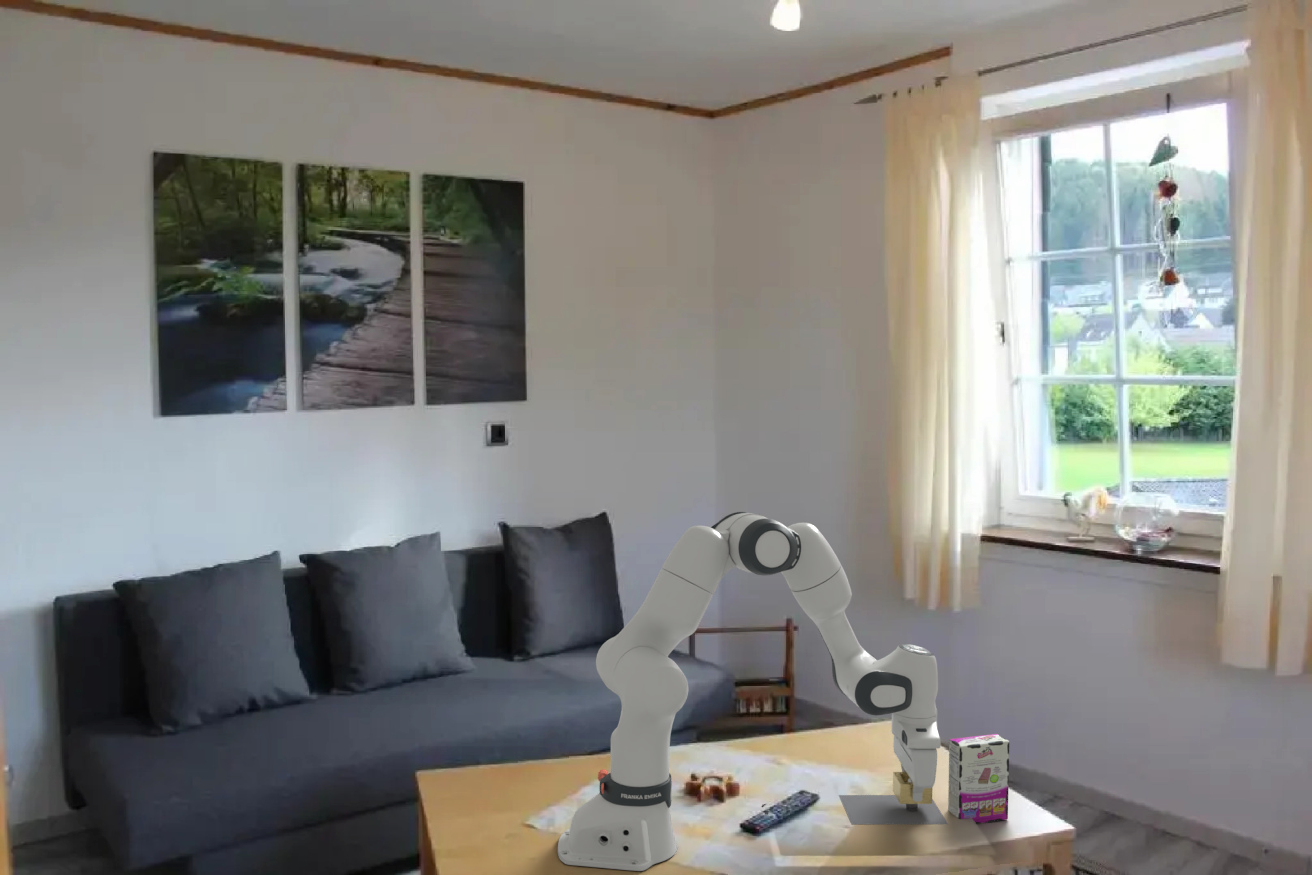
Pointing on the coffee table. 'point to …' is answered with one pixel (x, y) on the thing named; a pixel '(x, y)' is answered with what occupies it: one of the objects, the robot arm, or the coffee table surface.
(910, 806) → the steel post
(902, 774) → the brass collar
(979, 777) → the candy bar box
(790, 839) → the coffee table surface
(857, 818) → the slate mat
